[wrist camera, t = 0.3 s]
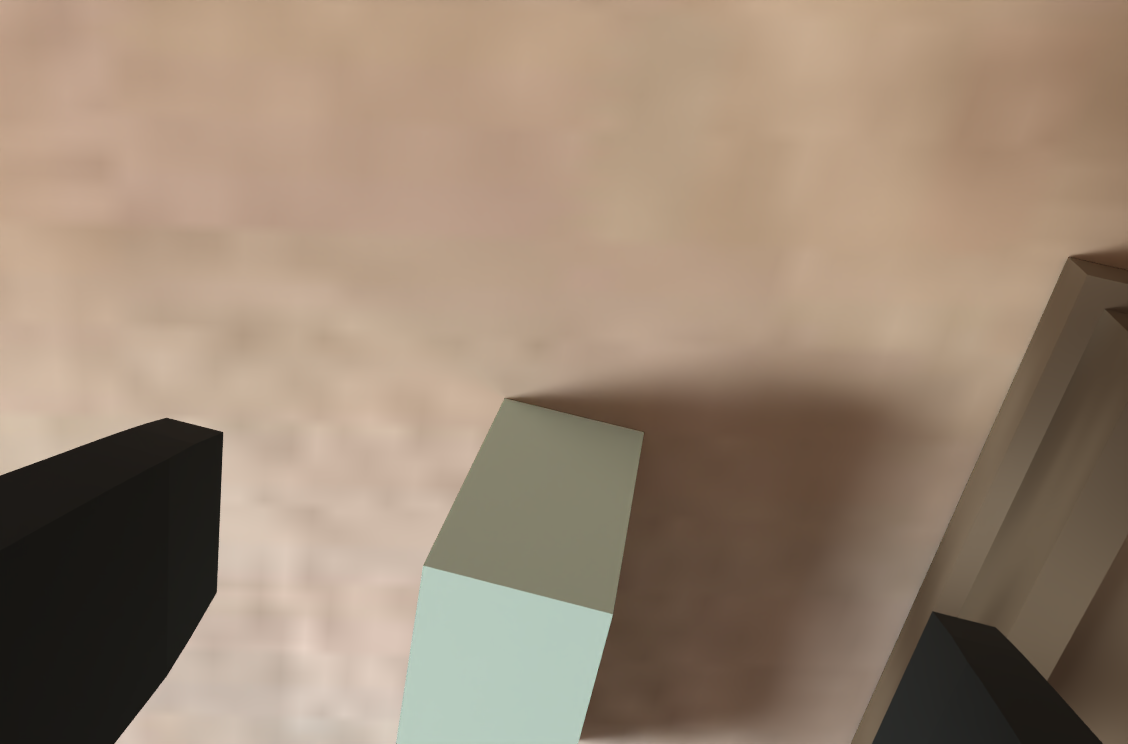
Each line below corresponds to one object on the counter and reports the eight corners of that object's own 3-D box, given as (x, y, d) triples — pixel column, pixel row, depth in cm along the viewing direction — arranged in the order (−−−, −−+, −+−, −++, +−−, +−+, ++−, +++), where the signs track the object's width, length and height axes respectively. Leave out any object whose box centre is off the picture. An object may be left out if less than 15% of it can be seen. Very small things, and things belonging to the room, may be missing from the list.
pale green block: (564, 737, 24) (516, 972, 18) (448, 706, 24) (367, 930, 19) (644, 430, 20) (613, 614, 14) (505, 396, 20) (423, 565, 15)
